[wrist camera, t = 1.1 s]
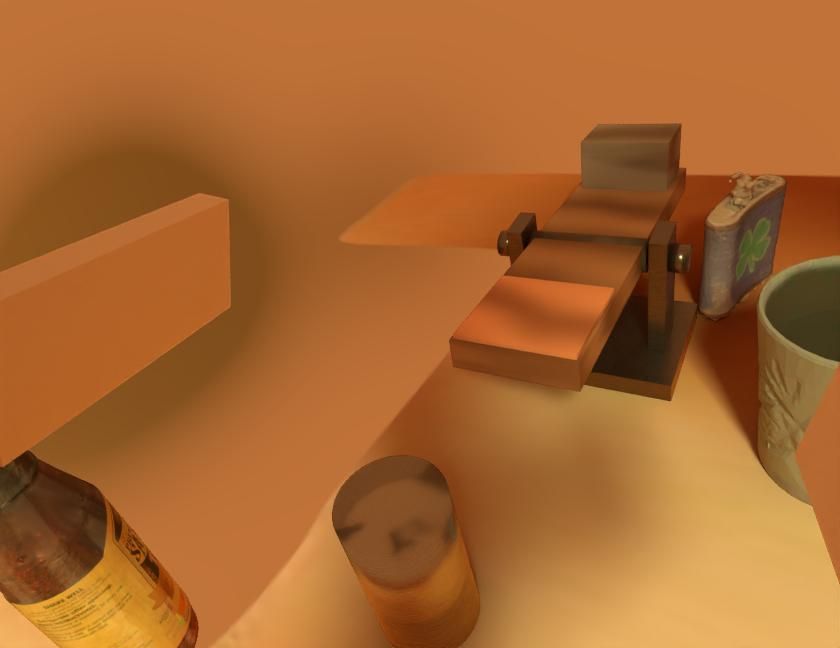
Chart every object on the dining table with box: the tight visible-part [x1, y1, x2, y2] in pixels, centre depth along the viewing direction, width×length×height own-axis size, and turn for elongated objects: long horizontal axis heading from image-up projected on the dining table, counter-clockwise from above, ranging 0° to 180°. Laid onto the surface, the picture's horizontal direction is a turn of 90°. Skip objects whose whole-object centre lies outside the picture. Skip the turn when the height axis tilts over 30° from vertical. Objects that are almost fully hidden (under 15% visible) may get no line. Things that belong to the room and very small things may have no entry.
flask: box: [699, 172, 787, 321], centre depth 52 cm, size 9×3×11 cm, turn 129°
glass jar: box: [332, 456, 480, 648], centre depth 35 cm, size 6×6×10 cm
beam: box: [449, 124, 686, 392], centre depth 47 cm, size 30×9×6 cm, turn 151°
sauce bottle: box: [0, 450, 198, 648], centre depth 34 cm, size 6×6×20 cm
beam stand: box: [497, 213, 698, 401], centre depth 50 cm, size 10×14×11 cm
